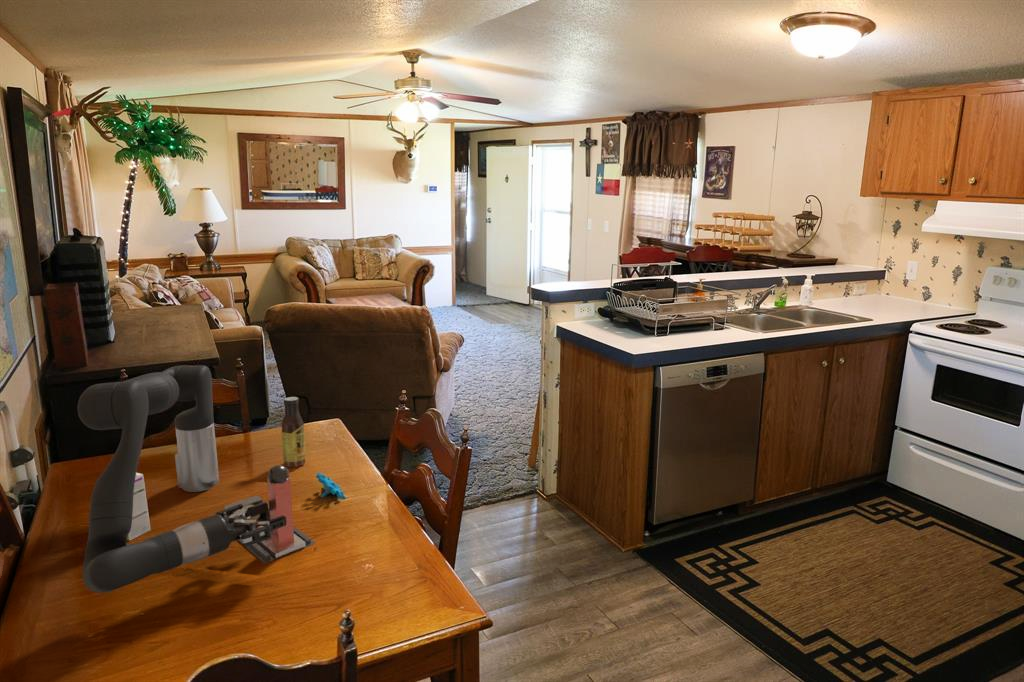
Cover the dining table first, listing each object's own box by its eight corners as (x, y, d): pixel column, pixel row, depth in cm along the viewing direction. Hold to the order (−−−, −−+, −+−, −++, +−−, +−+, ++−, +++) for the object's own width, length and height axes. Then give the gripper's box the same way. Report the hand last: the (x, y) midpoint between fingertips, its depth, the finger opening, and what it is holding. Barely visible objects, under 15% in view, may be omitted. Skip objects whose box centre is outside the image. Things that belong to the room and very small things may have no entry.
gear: (351, 500, 170) (320, 477, 167) (335, 519, 169) (304, 495, 166) (347, 487, 181) (318, 465, 178) (332, 505, 180) (302, 483, 177)
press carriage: (254, 540, 151) (248, 461, 146) (284, 529, 156) (278, 452, 151) (275, 558, 144) (269, 475, 140) (305, 546, 149) (300, 466, 144)
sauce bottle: (302, 468, 192) (297, 402, 188) (280, 468, 193) (275, 402, 188) (309, 459, 199) (305, 395, 194) (288, 459, 199) (283, 395, 194)
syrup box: (151, 530, 158) (145, 472, 155) (128, 541, 153) (120, 483, 149) (135, 524, 160) (128, 468, 157) (111, 536, 155) (104, 477, 152)
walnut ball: (239, 524, 158) (238, 509, 157) (248, 516, 162) (247, 501, 161) (255, 526, 157) (253, 510, 156) (264, 518, 161) (262, 502, 160)
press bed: (212, 522, 162) (210, 503, 161) (260, 506, 170) (258, 488, 169) (265, 569, 143) (263, 548, 141) (316, 549, 151) (315, 528, 150)
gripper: (212, 535, 129) (291, 508, 140) (184, 510, 139) (260, 486, 150) (215, 570, 131) (293, 540, 142) (187, 543, 140) (262, 517, 152)
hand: (276, 513), depth 146 cm, fingers open, 8 cm apart
